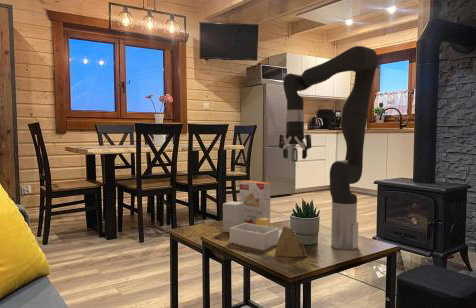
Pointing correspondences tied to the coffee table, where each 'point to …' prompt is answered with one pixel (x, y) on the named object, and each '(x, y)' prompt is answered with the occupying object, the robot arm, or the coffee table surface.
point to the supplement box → (232, 215)
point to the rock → (289, 245)
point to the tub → (254, 236)
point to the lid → (265, 223)
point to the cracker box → (255, 200)
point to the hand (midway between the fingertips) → (294, 158)
